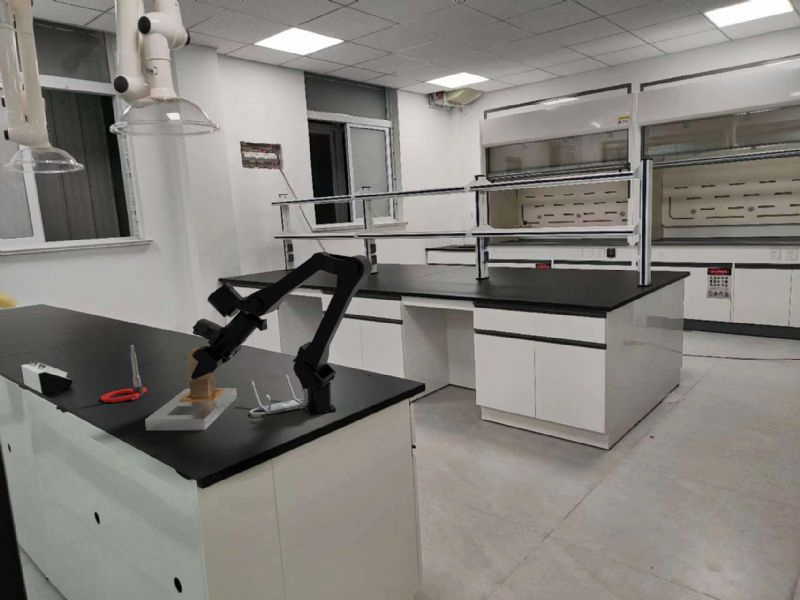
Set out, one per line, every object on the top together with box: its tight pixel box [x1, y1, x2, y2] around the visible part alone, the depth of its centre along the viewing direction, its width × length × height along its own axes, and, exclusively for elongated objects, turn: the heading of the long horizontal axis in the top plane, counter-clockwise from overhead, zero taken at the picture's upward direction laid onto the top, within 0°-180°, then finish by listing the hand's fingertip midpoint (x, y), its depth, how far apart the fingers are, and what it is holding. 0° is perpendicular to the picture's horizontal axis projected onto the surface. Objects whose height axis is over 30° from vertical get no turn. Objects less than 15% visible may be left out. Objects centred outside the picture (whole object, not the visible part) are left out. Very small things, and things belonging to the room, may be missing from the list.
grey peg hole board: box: [144, 387, 238, 431], centre depth 131 cm, size 22×13×3 cm, turn 179°
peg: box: [186, 347, 216, 398], centre depth 136 cm, size 4×4×13 cm
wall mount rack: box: [249, 374, 308, 416], centre depth 134 cm, size 16×14×6 cm
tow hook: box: [100, 344, 148, 404], centre depth 143 cm, size 9×14×10 cm
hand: (196, 375), depth 136 cm, fingers closed on peg, 4 cm apart
